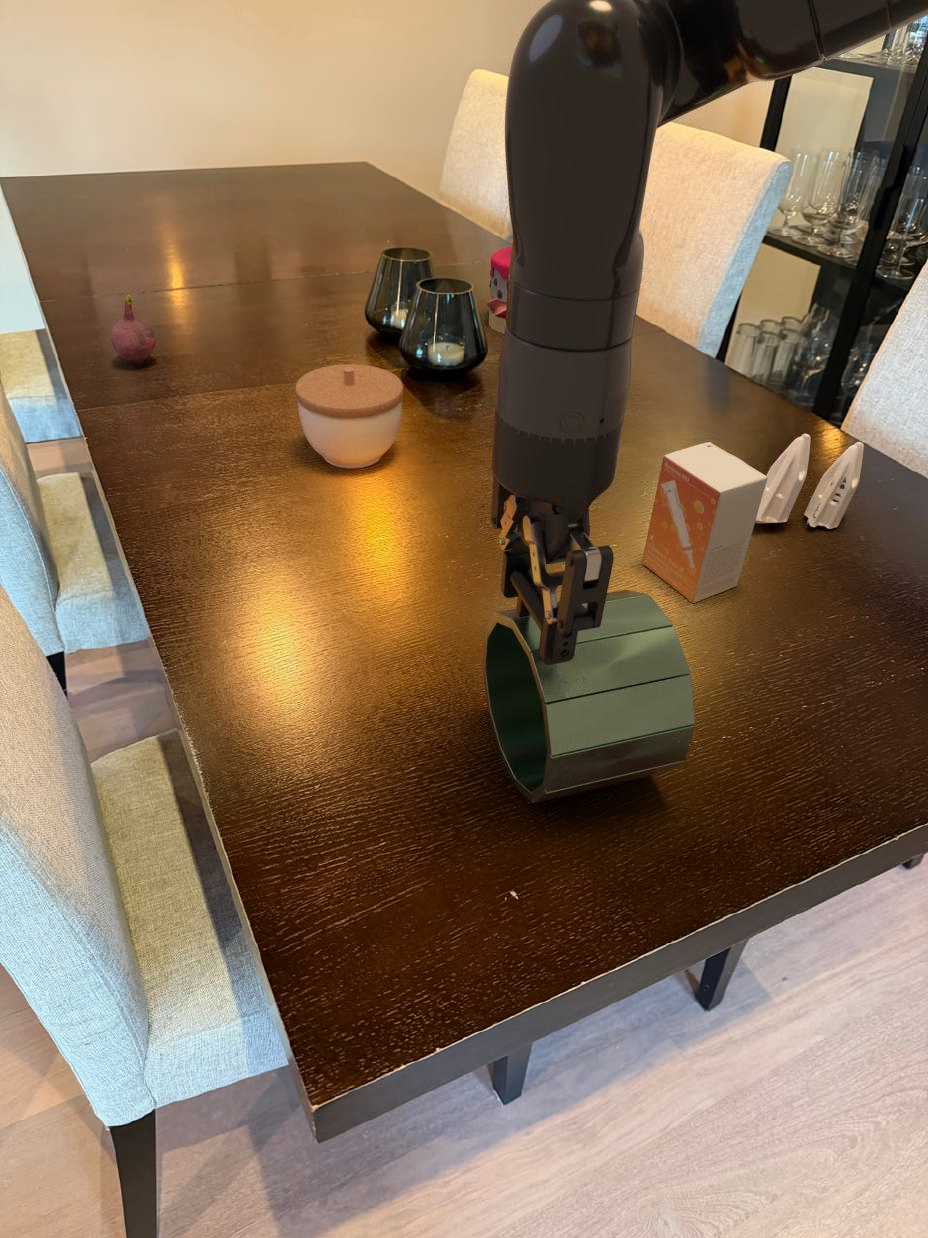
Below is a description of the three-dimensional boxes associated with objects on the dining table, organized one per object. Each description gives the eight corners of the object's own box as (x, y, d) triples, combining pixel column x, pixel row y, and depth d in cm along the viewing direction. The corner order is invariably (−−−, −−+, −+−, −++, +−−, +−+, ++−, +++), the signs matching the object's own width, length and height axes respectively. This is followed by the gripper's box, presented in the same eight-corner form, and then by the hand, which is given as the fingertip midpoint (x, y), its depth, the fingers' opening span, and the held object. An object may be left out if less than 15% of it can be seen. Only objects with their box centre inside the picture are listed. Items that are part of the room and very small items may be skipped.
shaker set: (752, 536, 99) (777, 446, 93) (737, 516, 103) (760, 428, 96) (851, 530, 101) (883, 441, 94) (833, 510, 104) (863, 423, 98)
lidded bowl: (414, 473, 107) (414, 387, 101) (309, 485, 104) (302, 396, 98) (391, 426, 117) (390, 344, 110) (294, 436, 114) (286, 352, 107)
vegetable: (144, 375, 126) (131, 305, 120) (107, 368, 128) (91, 298, 121) (168, 359, 131) (156, 290, 125) (132, 353, 132) (118, 284, 126)
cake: (544, 340, 143) (554, 241, 133) (480, 331, 144) (485, 234, 135) (554, 317, 151) (564, 223, 141) (493, 310, 152) (499, 216, 143)
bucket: (596, 687, 79) (626, 516, 68) (672, 806, 69) (722, 628, 58) (478, 711, 76) (490, 536, 65) (539, 839, 66) (566, 658, 55)
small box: (639, 564, 94) (661, 453, 86) (684, 548, 97) (710, 439, 89) (692, 605, 89) (720, 491, 81) (738, 587, 92) (770, 475, 84)
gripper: (677, 454, 48) (629, 683, 58) (570, 351, 58) (545, 560, 68) (547, 471, 46) (521, 705, 56) (460, 361, 56) (452, 575, 66)
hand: (535, 624), depth 62 cm, fingers open, 7 cm apart
